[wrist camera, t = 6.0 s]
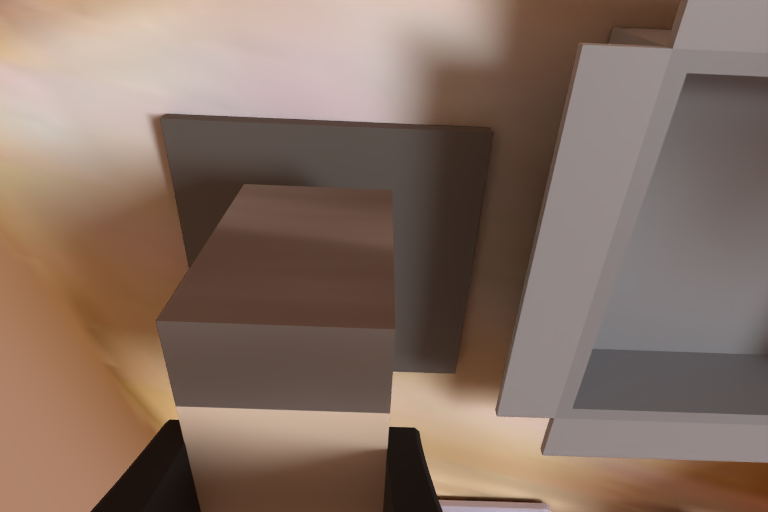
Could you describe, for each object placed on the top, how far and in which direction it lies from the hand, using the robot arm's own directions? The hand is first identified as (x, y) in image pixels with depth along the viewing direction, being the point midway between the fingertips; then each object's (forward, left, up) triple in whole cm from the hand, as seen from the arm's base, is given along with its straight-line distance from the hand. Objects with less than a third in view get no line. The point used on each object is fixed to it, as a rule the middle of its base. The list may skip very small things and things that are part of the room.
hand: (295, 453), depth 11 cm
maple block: (0, 0, -5) cm, 5 cm away
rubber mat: (0, 0, -8) cm, 8 cm away
